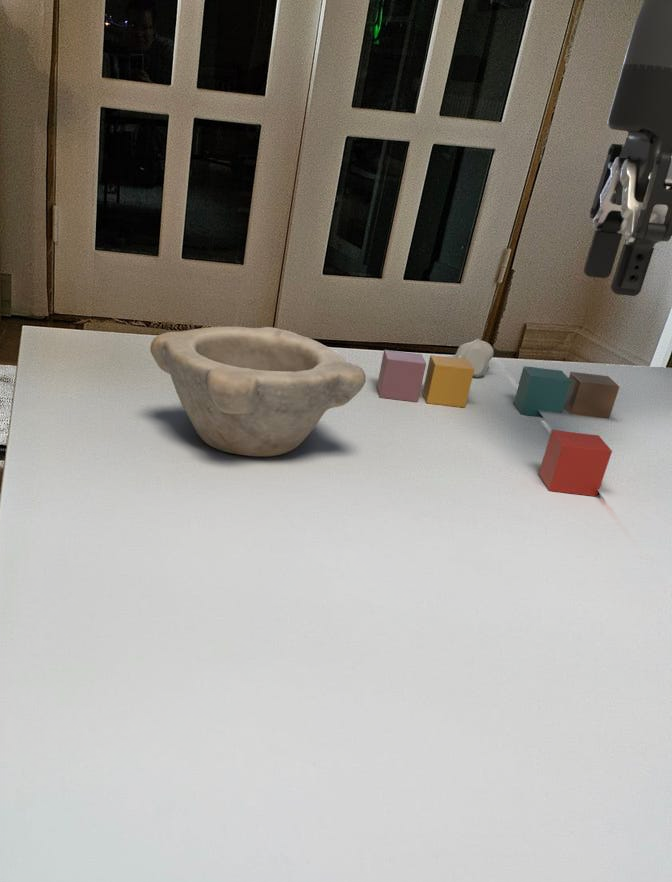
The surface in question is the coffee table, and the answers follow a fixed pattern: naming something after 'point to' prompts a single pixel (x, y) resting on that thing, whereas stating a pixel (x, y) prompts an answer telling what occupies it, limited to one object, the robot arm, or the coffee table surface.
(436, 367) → the block
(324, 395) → the mortar
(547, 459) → the red block
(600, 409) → the block
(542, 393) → the block
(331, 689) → the coffee table surface
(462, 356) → the pale two-lobed sculpture
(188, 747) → the coffee table surface
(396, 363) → the block
